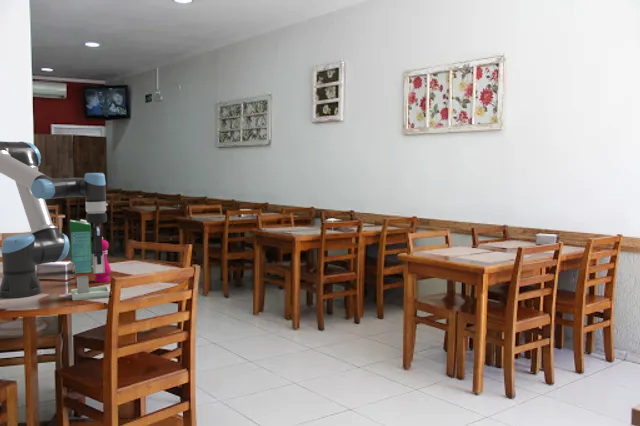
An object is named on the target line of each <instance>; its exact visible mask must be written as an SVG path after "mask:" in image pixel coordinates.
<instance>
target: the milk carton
mask: <svg viewBox="0 0 640 426" xmlns="http://www.w3.org/2000/svg"><path fill="white" fill-rule="evenodd" d="M91 227H92V225H91V223H87V221H86V219H79V220H74V219H70V220H69V233H70V234H69V236H70V237H69V238H70V240H69V242H70V256H71V257H70V258H71V259H70V261H71V262H73V263H74V264H75V273H74V274H85V273H86V274H87V273H93V256H92V254H93V253H92V230H91Z"/></svg>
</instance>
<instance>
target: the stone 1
mask: <svg viewBox="0 0 640 426" xmlns="http://www.w3.org/2000/svg"><path fill="white" fill-rule="evenodd" d="M89 282H90V281H89V276H88V275H79V276H77V275H76V289H77V294H82V293H89V288H90V287H89Z"/></svg>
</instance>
